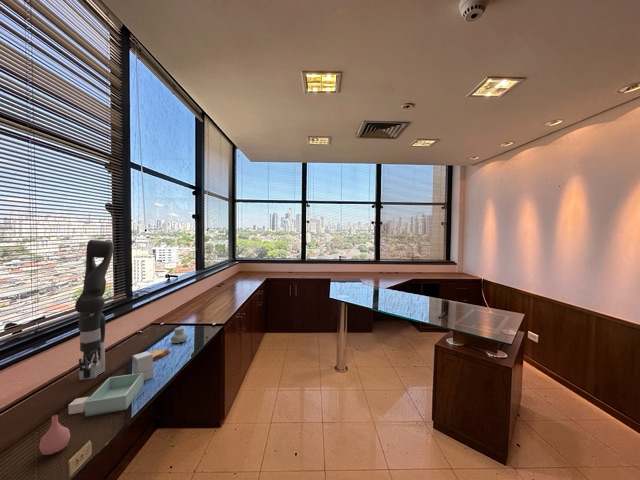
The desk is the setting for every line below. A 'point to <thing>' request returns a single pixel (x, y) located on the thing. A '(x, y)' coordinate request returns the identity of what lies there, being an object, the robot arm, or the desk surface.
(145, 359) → the supplement box
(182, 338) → the air freshener
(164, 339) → the desk surface
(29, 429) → the desk surface
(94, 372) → the tin block
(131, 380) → the tote
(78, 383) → the desk surface
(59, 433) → the pink vase
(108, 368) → the desk surface
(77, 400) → the cream box
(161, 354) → the slice of bread
